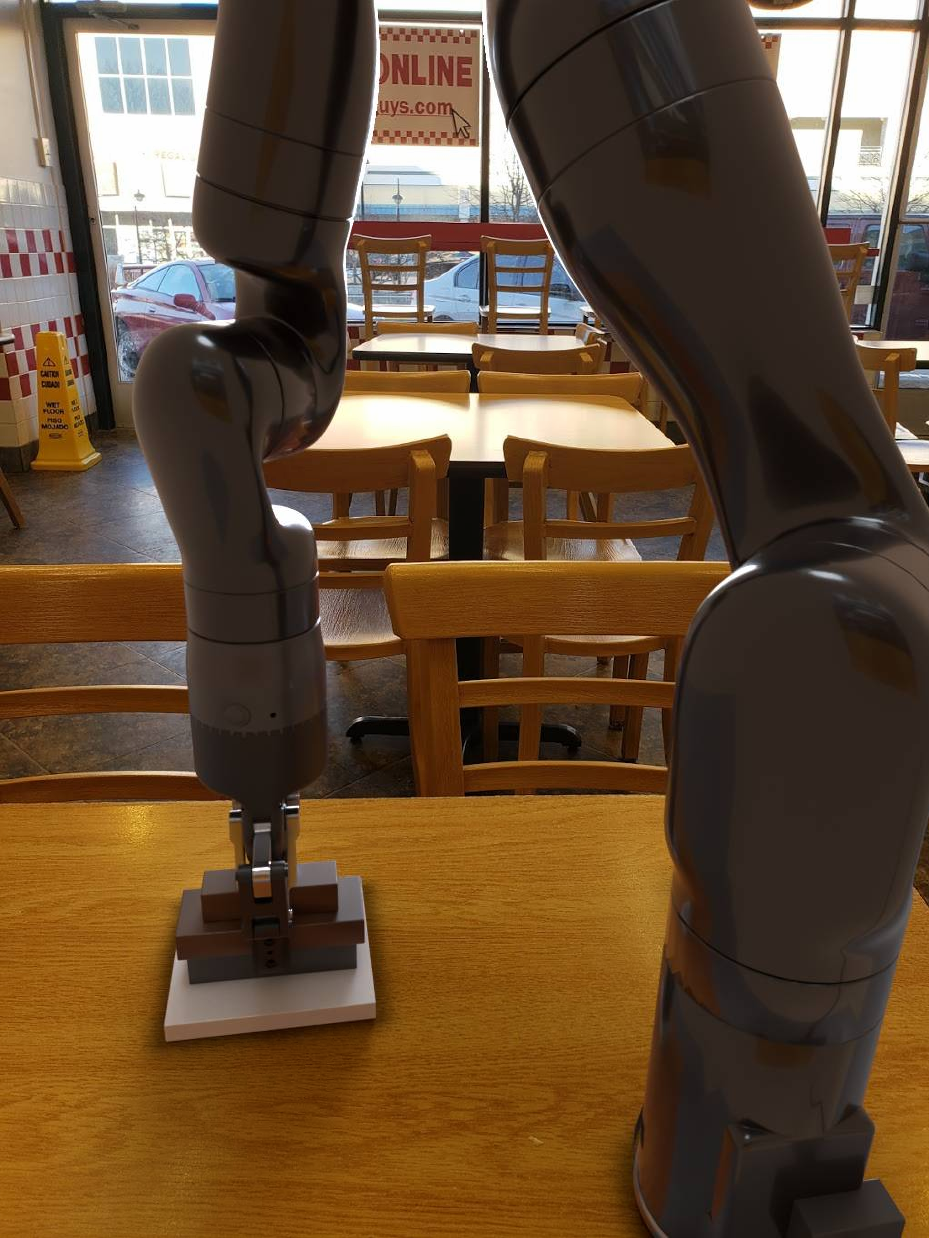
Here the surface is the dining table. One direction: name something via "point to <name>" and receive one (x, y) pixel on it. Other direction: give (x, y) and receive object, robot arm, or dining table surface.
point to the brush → (319, 920)
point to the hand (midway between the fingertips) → (273, 940)
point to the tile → (269, 1000)
